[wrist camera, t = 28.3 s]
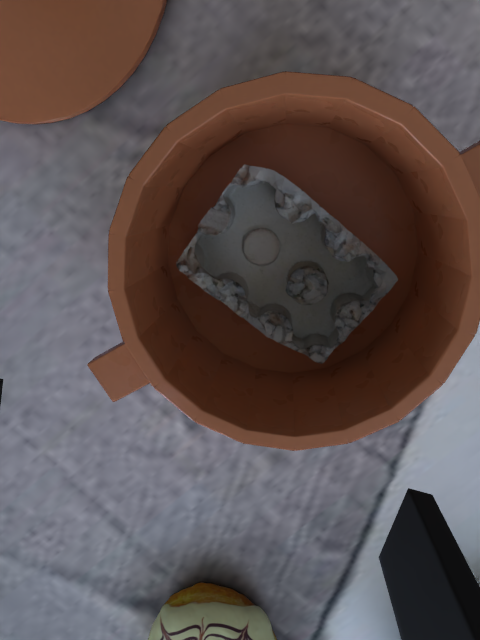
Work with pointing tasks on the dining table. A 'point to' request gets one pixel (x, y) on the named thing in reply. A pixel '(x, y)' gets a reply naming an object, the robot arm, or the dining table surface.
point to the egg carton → (285, 264)
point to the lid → (69, 54)
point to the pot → (340, 202)
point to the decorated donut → (210, 616)
